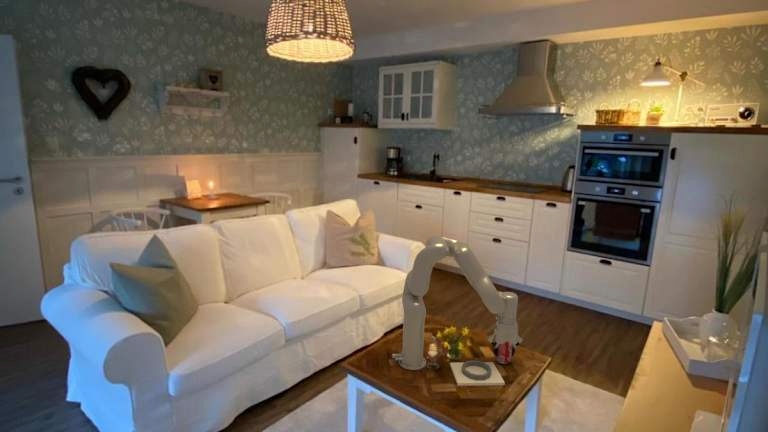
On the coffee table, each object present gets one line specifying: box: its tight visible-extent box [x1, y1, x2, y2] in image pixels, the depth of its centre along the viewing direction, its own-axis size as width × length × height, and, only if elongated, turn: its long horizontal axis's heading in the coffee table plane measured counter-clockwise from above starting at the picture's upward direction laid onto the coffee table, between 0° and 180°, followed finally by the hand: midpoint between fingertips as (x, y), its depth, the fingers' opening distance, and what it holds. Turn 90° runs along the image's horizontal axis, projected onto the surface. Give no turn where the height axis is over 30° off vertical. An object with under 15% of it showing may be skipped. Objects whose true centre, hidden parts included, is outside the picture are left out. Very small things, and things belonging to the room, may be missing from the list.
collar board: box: [449, 359, 505, 387], centre depth 178 cm, size 20×16×3 cm
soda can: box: [495, 340, 513, 365], centre depth 188 cm, size 7×7×12 cm
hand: (503, 354), depth 189 cm, fingers closed on soda can, 6 cm apart
